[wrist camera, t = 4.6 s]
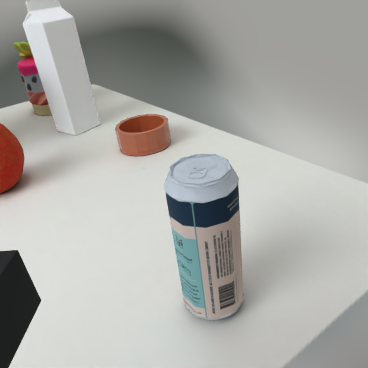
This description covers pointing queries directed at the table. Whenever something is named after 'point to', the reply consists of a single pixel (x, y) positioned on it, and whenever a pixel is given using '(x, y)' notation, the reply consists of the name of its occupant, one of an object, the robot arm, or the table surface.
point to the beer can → (206, 234)
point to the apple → (10, 159)
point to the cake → (32, 80)
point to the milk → (61, 66)
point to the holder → (143, 134)
